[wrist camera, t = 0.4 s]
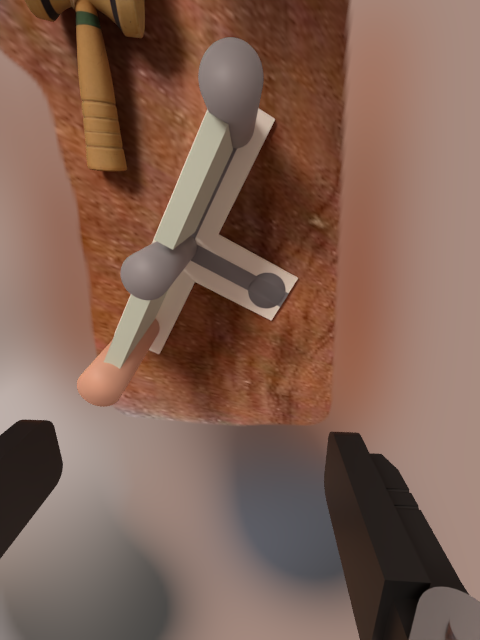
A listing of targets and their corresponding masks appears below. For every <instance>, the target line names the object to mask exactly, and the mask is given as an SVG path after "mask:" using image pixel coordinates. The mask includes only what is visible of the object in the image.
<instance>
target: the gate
mask: <svg viewBox="0 0 480 640" xmlns="http://www.w3.org/2000/svg"><path fill="white" fill-rule="evenodd" d="M168 290H169V289H168ZM168 290H167V291H166V293H165V294H164V295H163V296H161V297H160V298H157V299H155V300H142V299H139V298H137V297H135V296H133V295H131V297H130V299H129V302H128V304H127V307H126V309H125V311H124V314H123V316H122V319H121V321H120V323H119V326H118V328H117V331H116V333H115V336H114V338H113V340H112V341H111V342H110V343H109V344H108V345H107V347H106V348H105V349H104V350H103V351H102V352H101V353H100V354H99V355H98V357H97V358H96V359H95V360H94V361H93V362H92V363H91V364H90V366H89V367H88V368H87V369H86V370H85V371H84V372H83V374H82V375H81V376H80V377H79V379H78V382H77V388H78V392H79V393H80V395H81V396H82V397H83V399H85V400H86V401H87V402H89V403H91V404H93V405H96V406H110V405H113V404H114V403H116V402H117V401H118V400H119V398H120V397H121V395H122V393H123V392H124V390H125V388H126V387H127V385H128V383H129V382H130V380H131V378H132V377H133V375H134V373H135V372H136V370H137V368H138V367H139V365H140V363H141V362H142V360H143V358H144V357H145V355H146V353H147V352H148V350H149V348H150V347H151V345H152V343H153V342H154V340H155V338H156V337H157V335H158V333H159V330H160V326H159V323H158V321H157V320H156V319H155V318H156V316H157V313H158V311H159V309H160V307H161V305H162V303H163V300H164V298H165V296H166V294H167V292H168Z"/></svg>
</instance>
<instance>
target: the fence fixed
mask: <svg viewBox="0 0 480 640" xmlns="http://www.w3.org/2000/svg"><path fill="white" fill-rule="evenodd" d="M198 77H199V87H200V91H201V94H202V97H203V99H204V102H205V104H206V107H207V109H208V112H207V114H206V116H205V118H204V121H203V123H202V126H201V128H200V130H199V133H198V135H197V138H196V140H195V143H194V145H193V147H192V150H191V152H190V155H189V157H188V159H187V162H186V164H185V167H184V169H183V171H182V174H181V176H180V179H179V181H178V184H177V186H176V188H175V191H174V193H173V196H172V198H171V200H170V203H169V205H168V208H167V210H166V213H165V215H164V217H163V220H162V222H161V225H160V227H159V229H158V232H157V234H156V237H155V239H154V240H155V241H156V242H154V243H152V244H151V245H149V246H147V247H145V248H143V249H141V250H140V251H138V252H136V253H134V254H132V255H130V256H129V257H128V258H127V259H126V260H125V261H124V263H123V265H122V267H121V279H122V282H123V285H124V287H125V288H126V289H127V291H128V292H129V293H130V294H132V295H133V296H135V297H137V298H139V299H142V300H155V299H157V298H160V297H161V296H163V295H164V294H165V293H166V291H167V290H168V289H169V287H170V286H171V285H172V284H173V282H174V281H175V280H176V278H177V277H178V276H179V275H180V273H181V272H182V271H183V269H184V268H185V267H186V266H187V264H188V263H189V262H190V260H191V259H192V258H193V257H194V255H195V254H196V251H197V243H196V240H195V239H194V237H193V236H192V234H193V233H195V231H196V229H197V227H198V225H199V222H200V220H201V218H202V216H203V214H204V212H205V209H206V207H207V205H208V203H209V201H210V199H211V196H212V194H213V192H214V190H215V188H216V186H217V183H218V181H219V179H220V177H221V175H222V173H223V170H224V168H225V166H226V164H227V162H228V160H229V157H230V155H231V153H232V151H233V149H237V148H241V147H243V146H245V145H246V144H247V143H248V142H249V141H250V140H251V138H252V136H253V133H254V128H255V123H256V118H257V113H258V108H259V103H260V98H261V92H262V87H263V68H262V64H261V61H260V59H259V57H258V55H257V53H256V52H255V50H254V49H253V48H252V47H251V46H250V45H249V44H248V43H247V42H245V41H243V40H241V39H239V38H234V37H228V38H223V39H220V40H218V41H216V42H215V43H213V44H212V45H211V46H210V47H209V48H208V49H207V51H206V52H205V54H204V56H203V58H202V60H201V63H200V67H199V75H198Z"/></svg>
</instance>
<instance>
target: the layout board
mask: <svg viewBox="0 0 480 640" xmlns="http://www.w3.org/2000/svg"><path fill="white" fill-rule="evenodd" d="M207 112H208V109H207V111H206V114H207ZM206 114H205V116H206ZM205 116H204V118H205ZM203 121H204V119H203ZM203 121H202V123H203ZM274 121H275V119H274V118H273V117H271V116H270V115H268V114H267V113H265V112H263V111H262V110H260V109H259V108H258V113H257V118H256V123H255V128H254V133H253V136H252V138H251V140H250V141H249V142H248V143H247V144H246V145H245V146H243V147H241V148H237V149H233V151H232V153H231V155H230V157H229V160H228V162H227V164H226V166H225V168H224V170H223V173H222V175H221V177H220V179H219V181H218V183H217V186H216V188H215V190H214V192H213V194H212V196H211V199H210V201H209V203H208V205H207V207H206V209H205V212H204V214H203V216H202V218H201V220H200V222H199V225H198V227H197V229H196V231H195V233H193V234H192V236H193V237H194V239H195V240H196V243H197V251H196V254H195V255H194V257H193V258H192V259H191V260H190V262H189V263H188V264H187V266H186V267H185V268H184V269H183V271H182V272H181V273H180V275H179V276H178V277H177V278H176V280H175V281H174V282H173V284H172V285H171V286H170V287H169V290H168V292H167V294H166V296H165V298H164V300H163V303H162V305H161V307H160V309H159V311H158V313H157V316H156V318H155V319H156V320H157V321H158V323H159V326H160V330H159V333H158V335H157V337H156V338H155V340H154V342H153V343H152V345H151V347H150V348H149V350H150V351H153V352H155V353H157V354H160V352H161V350H162V348H163V346H164V344H165V342H166V340H167V338H168V336H169V334H170V332H171V330H172V328H173V326H174V324H175V322H176V320H177V318H178V316H179V314H180V312H181V310H182V308H183V306H184V303H185V301H186V299H187V297H188V295H189V293H190V291H191V289H192V287H193V285H194V283H195V282H196V283H198V284H200V285H202V286H204V287H206V288H208V289H210V290H212V291H214V292H216V293H218V294H220V295H222V296H224V297H225V298H227V299H229V300H231V301H233V302H235V303H237V304H239V305H241V306H243V307H245V308H247V309H249V310H251V311H253V312H255V313H257V314H259V315H261V316H263V317H265V318H267V319H269V320H271V321H272V319H273V317H274V316H275V314H276V313H277V311H278V309H279V308H280V307H281V305H282V303H283V302H284V300H285V299H286V297H287V295H288V294H289V292H290V290H291V289H292V287H293V286H294V284H295V282H296V281H297V279H298V277H296V276H294V275H293V274H291V273H289V272H287V271H285V270H283V269H282V268H280V267H278V266H276V265H274V264H272V263H271V262H269V261H267V260H265V259H263V258H261V257H260V256H258V255H256V254H254V253H252V252H250V251H249V250H247V249H245V248H243V247H241V246H240V245H238V244H236V243H234V242H232V241H230V240H229V239H227V238H225V237H223V236H221V235H219V232H220V230H221V228H222V226H223V224H224V222H225V220H226V218H227V216H228V214H229V212H230V210H231V208H232V206H233V204H234V202H235V200H236V198H237V196H238V194H239V192H240V190H241V188H242V186H243V184H244V182H245V180H246V178H247V176H248V174H249V172H250V170H251V167H252V165H253V163H254V161H255V159H256V157H257V155H258V153H259V151H260V149H261V147H262V145H263V143H264V141H265V139H266V137H267V135H268V133H269V131H270V129H271V127H272V125H273V123H274ZM202 123H201V126H202ZM201 126H200V128H201ZM200 128H199V130H200ZM198 133H199V131H198ZM198 133H197V135H198ZM196 138H197V136H196ZM196 138H195V140H196ZM195 140H194V143H195ZM194 143H193V145H194ZM193 145H192V147H193ZM191 150H192V148H191ZM191 150H190V152H191ZM189 155H190V153H189ZM189 155H188V157H189ZM188 157H187V159H188ZM186 162H187V160H186ZM186 162H185V164H186ZM184 167H185V165H184ZM184 167H183V169H184ZM183 169H182V171H183ZM181 174H182V172H181ZM181 174H180V176H181ZM179 179H180V177H179ZM179 179H178V181H179ZM177 184H178V182H177ZM177 184H176V186H177ZM176 186H175V188H176ZM174 191H175V189H174ZM174 191H173V193H174ZM172 196H173V194H172ZM172 196H171V198H172ZM171 198H170V200H171ZM169 203H170V201H169ZM169 203H168V205H169ZM167 208H168V206H167ZM167 208H166V210H167ZM165 213H166V211H165ZM165 213H164V215H165ZM164 215H163V217H164ZM162 220H163V218H162ZM162 220H161V222H162ZM160 225H161V223H160ZM160 225H159V227H160ZM159 227H158V229H159ZM157 232H158V230H157ZM157 232H156V234H157ZM155 237H156V235H155ZM155 237H154V239H155ZM154 242H156V241H155V240H153V242H152V243H154ZM131 295H132V294H131ZM131 295H130V297H131ZM129 299H130V298H129ZM128 302H129V300H128ZM128 302H127V304H128ZM126 307H127V305H126ZM126 307H125V309H126ZM124 311H125V310H124ZM123 314H124V312H123ZM122 316H123V315H122ZM121 319H122V317H121ZM121 319H120V321H121ZM119 323H120V322H119ZM118 326H119V324H118ZM117 328H118V327H117ZM116 331H117V329H116ZM116 331H115V333H116Z"/></svg>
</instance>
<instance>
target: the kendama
mask: <svg viewBox="0 0 480 640" xmlns="http://www.w3.org/2000/svg"><path fill="white" fill-rule="evenodd" d="M25 2H26V4H27V6H28V7H29V9H30V10H31V12H32V13H33V14H34V15H35V16H36V17H38V18H40V19H44V20H48V21H53V22H54V21H55V20H56V19H57V18H58V17H59V15H60V14H61V13H62V12H63V11H64V10H66V9H67V8H70V7H73V9H74V10H75V11H76V36H77V60H78V74H79V86H80V95H81V100H82V101H83V102H82V113H83V116H84V118H83V123H84V130H85V132H84V134H85V142H86V145H87V146H86V158H87V167H88V168H89V169H92V170H98V171H125V170H127V165H126V160H125V155H124V150H123V149H122V147H123V144H122V138H121V135H120V126H119V122H118V114H117V108H116V106H115V104H116V101H115V94H114V88H113V82H112V77H111V71H110V67H109V62H108V57H107V53H106V49H105V44H104V39H103V35H102V31H101V26H100V22H99V17H98V13H97V10H98V11H100V12H102V13H103V14H105V15H106V16H107V17H109V18H110V19H111V20H112V21H113V22H114V23H115V24H116V25H117V26H118V27H119V28H120V30H121V31H122V32H123V33H124V35H125V36H126V37H134V38H142V37H143V35H144V31H145V9H144V7H145V1H144V0H25Z"/></svg>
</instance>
